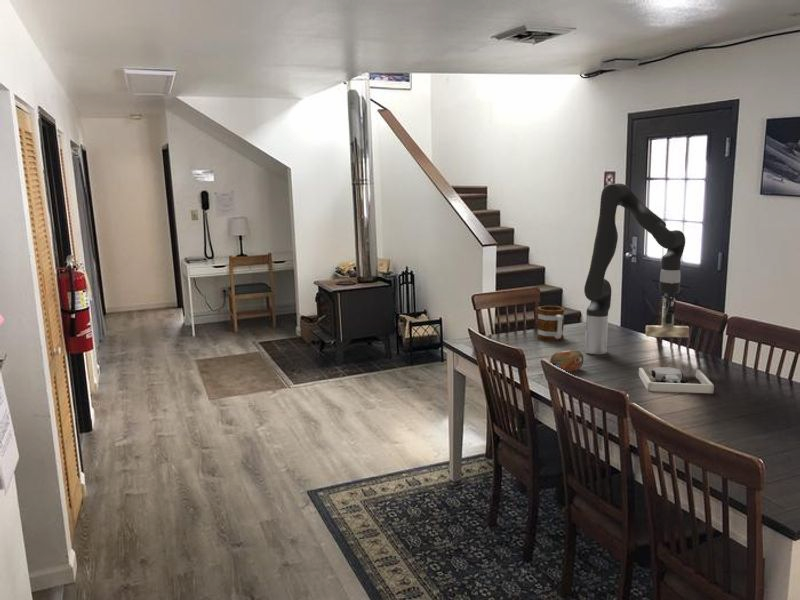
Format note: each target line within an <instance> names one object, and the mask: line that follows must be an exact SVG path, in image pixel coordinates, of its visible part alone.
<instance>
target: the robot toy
mask: <svg viewBox="0 0 800 600" xmlns="http://www.w3.org/2000/svg"><path fill="white" fill-rule="evenodd" d="M648 370H649V373H650V376H652V378H653V379H655V381H656V380H657V381H658V382H659V383H687V384H692V383H691V382H689V380H686V379H685V378H684V376H685V373H684V372H683V370H682V368H680V369H679V368H677V367H668V366H667V367H666V366H663V367H655V368H653V370H651V369H650V367H649V368H648Z"/></svg>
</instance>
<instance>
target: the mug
mask: <svg viewBox="0 0 800 600" xmlns="http://www.w3.org/2000/svg"><path fill="white" fill-rule="evenodd" d="M564 314H565V307H564V306H559V305H543V306H538V307H537V336H536V337H537V340H539V341H543V342H561V341H564V339H563V338H564V337H565V336H564V326H565V319H564V316H565V315H564Z"/></svg>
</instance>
